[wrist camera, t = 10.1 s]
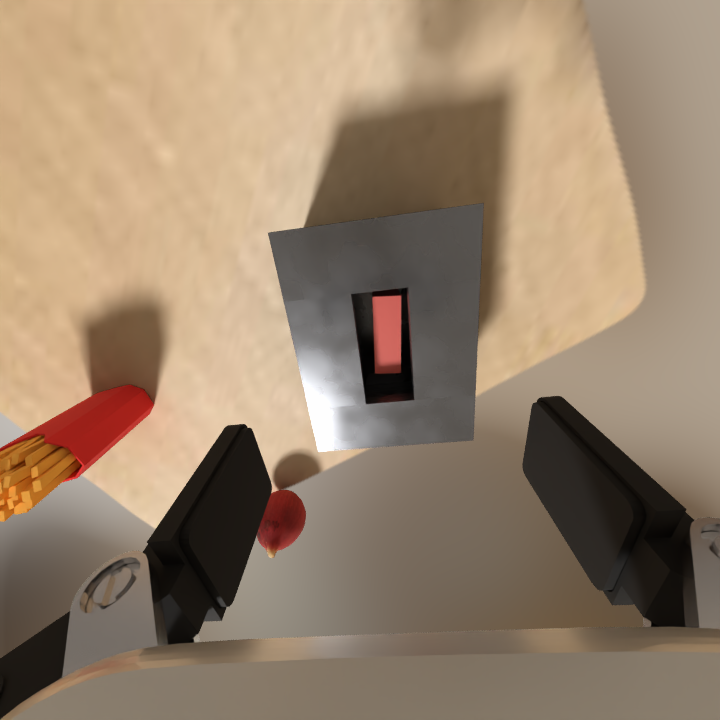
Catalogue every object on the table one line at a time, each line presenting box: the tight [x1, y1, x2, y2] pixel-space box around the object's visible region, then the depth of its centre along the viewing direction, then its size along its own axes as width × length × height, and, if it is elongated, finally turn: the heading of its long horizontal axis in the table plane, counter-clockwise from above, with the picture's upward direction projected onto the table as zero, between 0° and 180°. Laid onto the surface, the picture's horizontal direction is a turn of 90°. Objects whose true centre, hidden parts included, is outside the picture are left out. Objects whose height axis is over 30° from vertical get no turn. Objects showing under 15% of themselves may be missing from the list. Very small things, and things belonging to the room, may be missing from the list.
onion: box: [257, 490, 306, 558], centre depth 34 cm, size 6×6×8 cm
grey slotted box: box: [268, 203, 484, 452], centre depth 23 cm, size 16×12×9 cm
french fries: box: [0, 385, 154, 521], centre depth 27 cm, size 9×4×13 cm, turn 106°
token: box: [372, 289, 401, 374], centre depth 24 cm, size 6×2×6 cm
